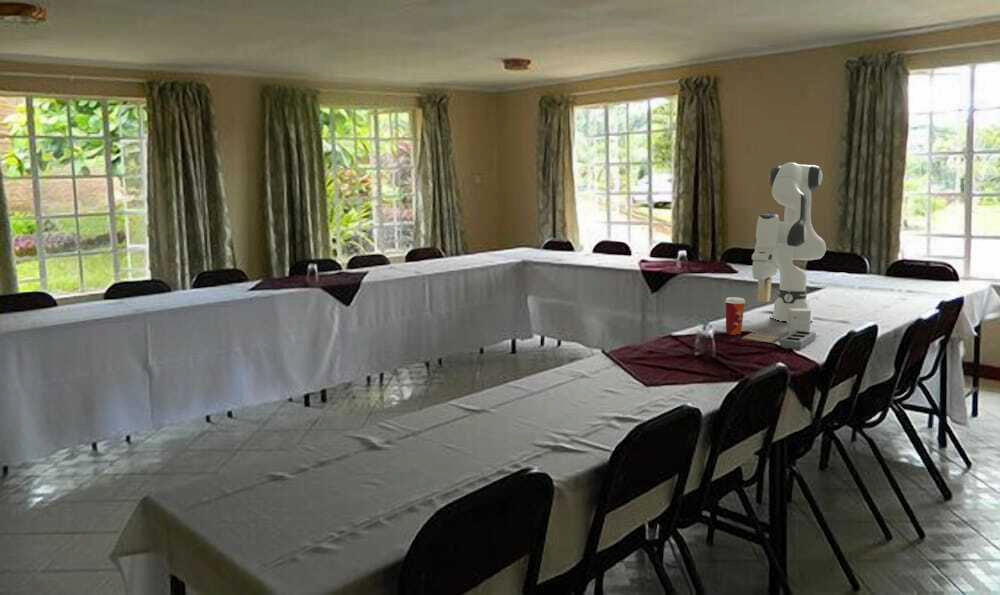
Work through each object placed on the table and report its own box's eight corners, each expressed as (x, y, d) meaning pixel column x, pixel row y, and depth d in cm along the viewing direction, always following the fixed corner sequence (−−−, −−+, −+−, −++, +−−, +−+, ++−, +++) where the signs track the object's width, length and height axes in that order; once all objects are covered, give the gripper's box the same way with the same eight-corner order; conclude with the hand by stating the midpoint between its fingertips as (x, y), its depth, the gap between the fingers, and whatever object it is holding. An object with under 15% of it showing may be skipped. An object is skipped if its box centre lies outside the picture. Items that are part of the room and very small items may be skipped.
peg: (760, 299, 315) (761, 278, 314) (770, 300, 313) (771, 278, 312) (757, 301, 312) (758, 279, 311) (767, 302, 310) (768, 279, 308)
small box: (805, 332, 329) (807, 308, 328) (809, 335, 324) (811, 310, 322) (786, 332, 330) (787, 307, 328) (789, 335, 325) (791, 310, 323)
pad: (750, 335, 324) (751, 332, 323) (780, 338, 317) (780, 336, 316) (741, 340, 314) (741, 337, 314) (771, 344, 307) (771, 341, 307)
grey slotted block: (795, 337, 320) (795, 330, 319) (815, 339, 315) (815, 332, 315) (779, 346, 302) (779, 339, 302) (800, 349, 298) (801, 342, 297)
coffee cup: (739, 336, 321) (741, 300, 319) (720, 334, 326) (722, 298, 324) (746, 333, 328) (748, 298, 325) (727, 330, 333) (729, 296, 330)
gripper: (766, 251, 320) (764, 284, 322) (750, 255, 303) (748, 290, 306) (781, 252, 316) (779, 286, 318) (766, 257, 300) (764, 292, 302)
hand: (764, 288), depth 312 cm, fingers closed on peg, 4 cm apart
